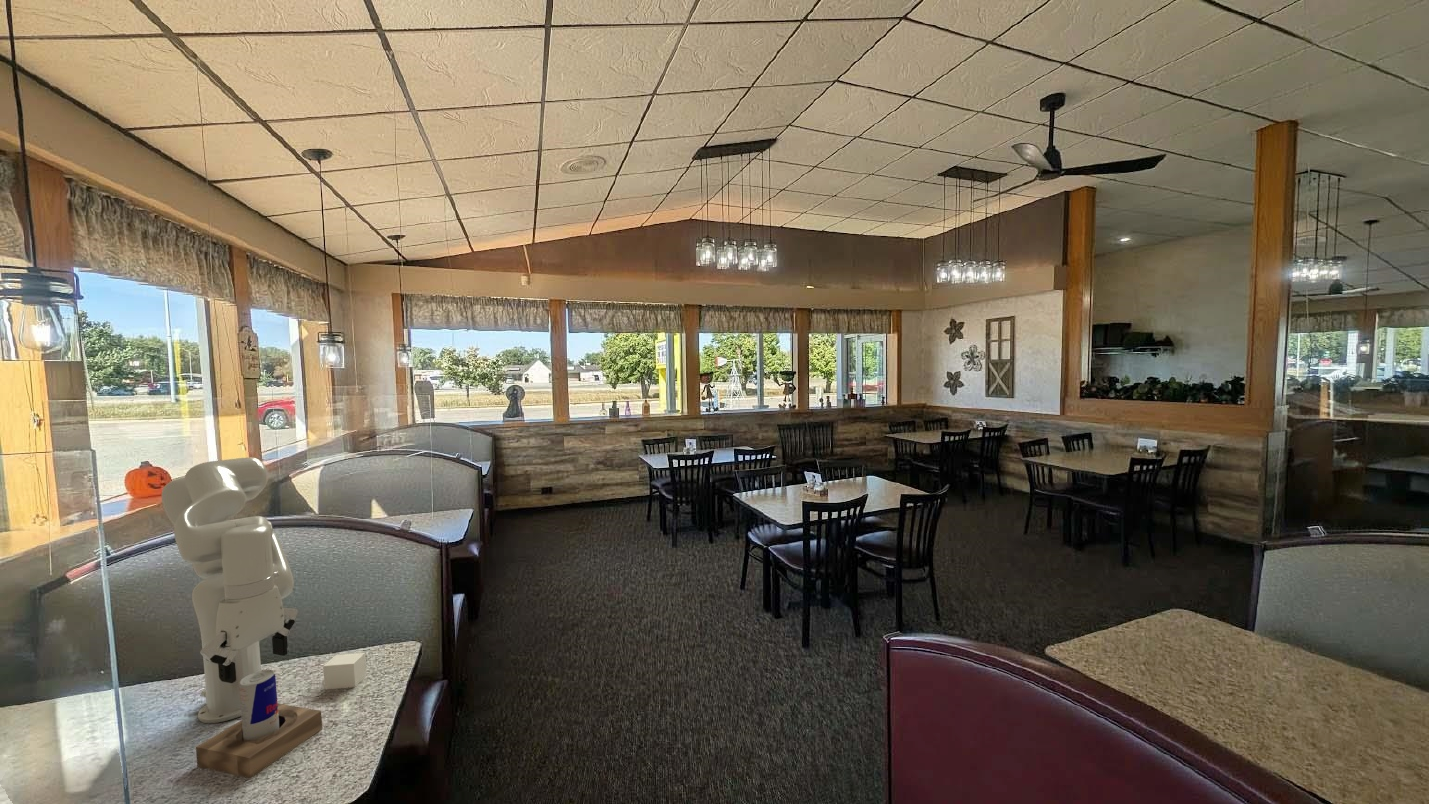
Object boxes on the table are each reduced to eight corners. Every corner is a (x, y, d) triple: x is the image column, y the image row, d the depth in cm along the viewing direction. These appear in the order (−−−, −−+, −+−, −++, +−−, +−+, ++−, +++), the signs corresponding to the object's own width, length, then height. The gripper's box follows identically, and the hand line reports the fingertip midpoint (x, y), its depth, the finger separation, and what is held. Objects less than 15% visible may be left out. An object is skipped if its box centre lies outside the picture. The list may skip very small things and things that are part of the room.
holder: (197, 766, 102) (195, 747, 102) (273, 719, 116) (271, 702, 115) (250, 778, 99) (249, 757, 98) (322, 728, 112) (321, 710, 112)
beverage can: (259, 758, 104) (253, 686, 103) (237, 754, 105) (231, 683, 104) (287, 738, 109) (282, 670, 109) (266, 735, 110) (260, 667, 110)
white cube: (324, 689, 127) (323, 666, 126) (337, 678, 132) (335, 655, 131) (355, 687, 127) (353, 663, 127) (366, 675, 132) (365, 652, 132)
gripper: (280, 568, 115) (285, 642, 116) (184, 604, 98) (191, 690, 99) (306, 572, 113) (311, 647, 114) (213, 608, 96) (220, 696, 97)
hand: (255, 667), depth 107 cm, fingers open, 9 cm apart
